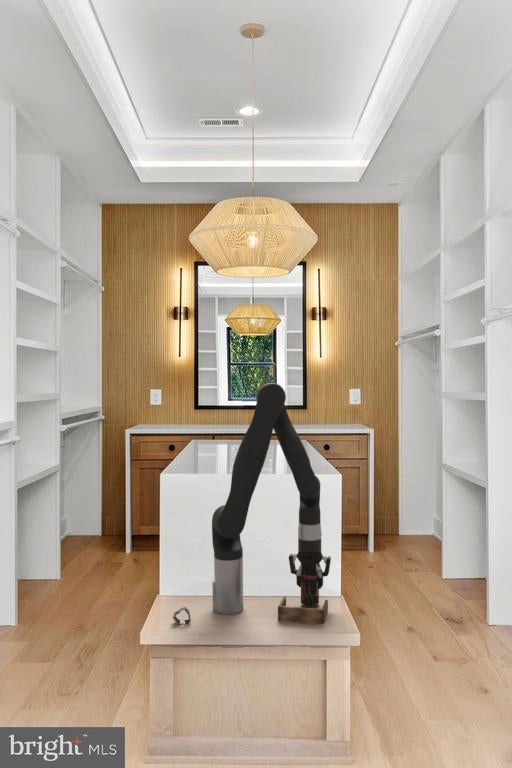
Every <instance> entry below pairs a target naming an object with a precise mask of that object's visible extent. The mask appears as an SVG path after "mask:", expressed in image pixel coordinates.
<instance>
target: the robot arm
mask: <svg viewBox="0 0 512 768" xmlns="http://www.w3.org/2000/svg"><path fill="white" fill-rule="evenodd" d="M286 395H287V394H286V392H285V389H284V388H283V387H282V386H281V385H280V384H278V383H276V382H269V383H265V384H263V385H261V386H260V387H259V389H257V392H256V397H255V399H256V404H255V409H254V412H253V416H252V420H251V421H250V425H249V427H248V428H247V429H246V432H245V434H244V436H243V438H242V440H241V442H240V445H239V446H238V450H237V452H236V455H235V457H234V461H233V465H232V472H231V480H230V481H231V482H230V488H229V489H230V490H229V493H228V497H227V500H226V501H225V504H224V505H220V506H218V507H217V508H216V509H215V511H213V514H212V519H211V536H212V538H211V539H212V541H211V542H212V548H213V558H214V559H213V561H214V563H213V565H214V569H213V571H214V572H213V573H214V577H213V578H214V580H212V612H217V613H218V614H223V615H236V614H239V613H241V612H242V611H243V610H244V562H243V561H244V559H243V558H244V554H243V553H244V552H243V545H242V541H241V534H242V532H243V531H244V529H245V525H246V522H247V517H248V512H249V507H250V503H251V501H252V497H253V494H254V492H255V489H256V487H257V484H258V481H259V478H260V475H261V473H262V470H263V468H264V464H265V461H266V458H267V454H268V451H269V447H270V443H271V439H272V434H273V431H274V433H275V436H276V438H277V440H278V443H279V445H280V448H281V451H282V453H283V456H284V457H285V460H286V463H287V464H288V467H289V469H290V471H291V474H292V476H293V479H294V483H295V485H296V488H297V491H298V492H299V508H298V528H297V539H298V541H297V546H298V548H297V549H298V550H297V553H296V554H293V553H290V554H289V555H288V561H289V562H288V563H289V569H290V573H291V575H292V574H293V575H295V577H296V578H295V579H296V586H298V588H301V570H302V563H301V558H304V559H307V558H312V559H318V564H319V567H318V565H317V564H316V571H317V574H318V576H319V577H318V589H319V590H320V589H322V588H323V585H324V578H325V577H328V575H329V574H330V567H331V561H332V557H331V556H330V555H329V556H325V555H324V554H323V553H322V525H321V507H320V503H321V501H320V500H321V481H320V478H319V477H318V476H317V475H316V474H315V472H314V470H313V468H312V465H311V460H310V457H309V455H308V453H307V451H306V448H305V445H304V444H303V442H302V440H301V438H300V436H299V433H298V432H297V431H296V429H295V426H294V425H293V423H292V421H291V420H290V416H289V414H288V412H287V407H286V400H287V399H286V398H287V397H286ZM296 560H298V561H299V563H300V565H299V567H298V569H296V563H295V562H296ZM322 561H323V563H324V564H325V566H324V567H325V568H324V571H323V570H322V569H323V568H322V566H321V564H320V563H321V562H322Z"/></svg>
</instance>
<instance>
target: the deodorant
mask: <svg viewBox="0 0 512 768" xmlns="http://www.w3.org/2000/svg"><path fill="white" fill-rule="evenodd" d="M301 563H302V570H301V587H300V604H301V605H304V606H307V607H315V606H317V605H319V604H320V589H318V577H319V576H318V574H317V571H316V564H317V565H318V567H319V564H320V563H319V564H318V559H312V558H307V559H304V558H301ZM301 563H300V564H301Z"/></svg>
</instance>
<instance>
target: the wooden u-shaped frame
mask: <svg viewBox="0 0 512 768" xmlns="http://www.w3.org/2000/svg"><path fill="white" fill-rule="evenodd" d="M328 614H329V599H325V600H324V603H323V605H322V608H313V607H312V608H311V607H302V606H301V607H300V606H288V605H287V596H284V595H283V597H282V598H281V600H280V602H279V604H278V606H277V621H278V622H283V623H284V622H285V623H286V622H287V623H297V624H298V623H299V624H306V623H308V624H309V625H317V624H324V623H326V621H327V618H326V617H328ZM325 620H326V621H325ZM308 624H307V625H308ZM324 625H325V624H324Z"/></svg>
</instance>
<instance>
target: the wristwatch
mask: <svg viewBox="0 0 512 768" xmlns="http://www.w3.org/2000/svg"><path fill="white" fill-rule="evenodd" d="M182 611H184V612H186V614H187V617H188V619H183V621H185V624H187V623H188V624H189V623H190V622H191V621H192V619H191V612H190V610H189V608H187V607H185V606H183V607H181V608H180V609H179V610H176V611H175V612H174V614H173V615H172V620H173V621H174V622H175V623H176V624H177V625H178V624H180V623H181V622H180V619H179V618H178V617H177V615H179V614H180V613H181V612H182ZM180 625H181V624H180Z"/></svg>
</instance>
